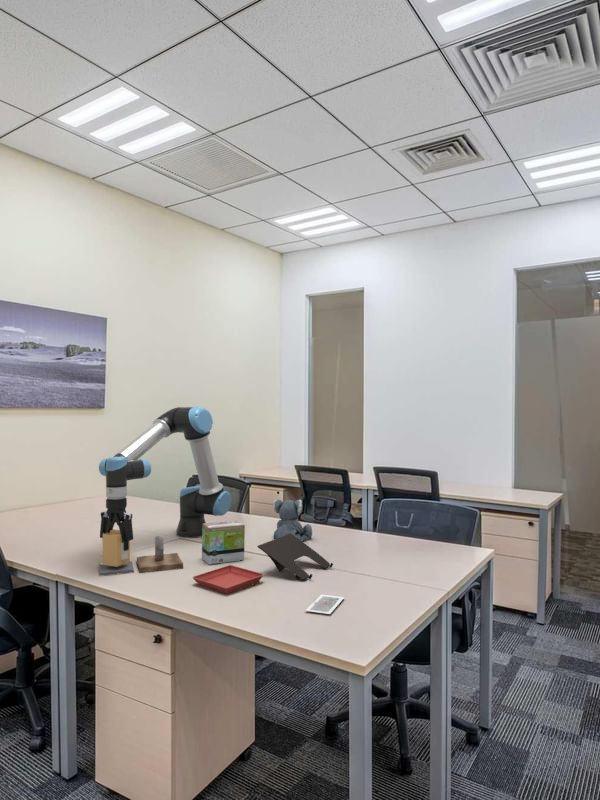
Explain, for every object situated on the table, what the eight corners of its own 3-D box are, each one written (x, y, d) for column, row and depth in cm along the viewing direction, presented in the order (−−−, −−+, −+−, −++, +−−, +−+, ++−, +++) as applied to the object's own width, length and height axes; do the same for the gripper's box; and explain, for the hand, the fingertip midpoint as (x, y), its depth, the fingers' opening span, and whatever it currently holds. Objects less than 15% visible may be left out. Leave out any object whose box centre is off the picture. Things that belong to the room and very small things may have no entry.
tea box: (209, 565, 211) (209, 527, 211) (201, 559, 220) (201, 523, 220) (245, 560, 218) (245, 523, 218) (236, 554, 227) (236, 519, 227)
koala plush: (314, 538, 255) (314, 496, 255) (299, 547, 239) (298, 502, 239) (281, 534, 262) (281, 494, 262) (264, 543, 246) (264, 500, 246)
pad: (131, 563, 214) (131, 561, 214) (133, 572, 203) (133, 569, 203) (99, 567, 210) (99, 564, 210) (99, 576, 198) (99, 573, 198)
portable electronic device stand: (297, 599, 190) (307, 577, 188) (250, 561, 201) (259, 540, 199) (328, 581, 210) (337, 561, 208) (284, 547, 221) (292, 528, 219)
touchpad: (344, 600, 173) (344, 594, 173) (329, 617, 159) (329, 610, 159) (321, 597, 176) (321, 591, 176) (305, 614, 162) (305, 607, 162)
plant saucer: (226, 597, 176) (226, 587, 176) (191, 585, 188) (191, 576, 188) (264, 583, 190) (264, 574, 190) (230, 573, 202) (230, 564, 202)
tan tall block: (129, 561, 208) (129, 529, 208) (116, 566, 201) (116, 533, 202) (115, 559, 211) (115, 527, 211) (102, 564, 204) (102, 531, 205)
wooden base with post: (177, 557, 222) (177, 531, 222) (183, 568, 207) (183, 539, 207) (136, 561, 216) (136, 534, 217) (139, 573, 201) (139, 543, 202)
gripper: (89, 497, 207) (89, 557, 207) (129, 500, 199) (129, 563, 199) (103, 494, 214) (103, 552, 214) (143, 497, 206) (143, 558, 206)
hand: (116, 557), depth 206 cm, fingers closed on tan tall block, 7 cm apart
